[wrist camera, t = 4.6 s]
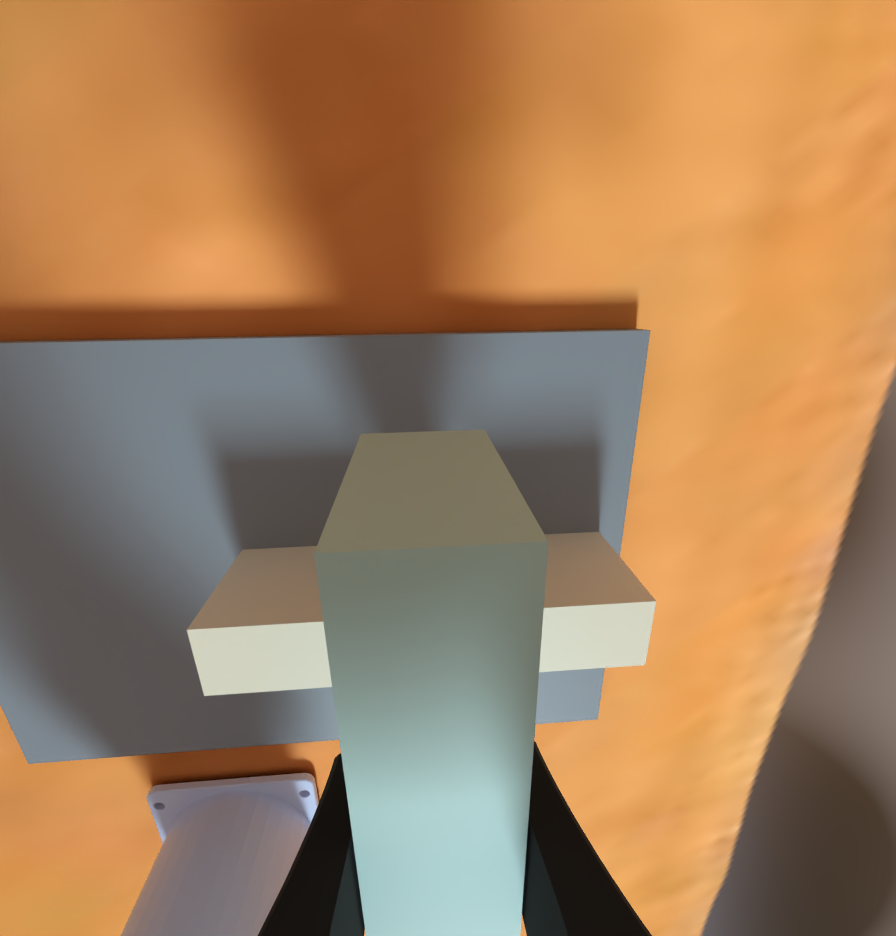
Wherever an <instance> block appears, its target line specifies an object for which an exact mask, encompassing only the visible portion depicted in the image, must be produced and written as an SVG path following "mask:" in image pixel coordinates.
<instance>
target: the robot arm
mask: <svg viewBox="0 0 896 936" xmlns="http://www.w3.org/2000/svg"><path fill="white" fill-rule="evenodd" d="M147 801H148V804H149V806H150V809H151V812H152V815H153V817H154V820H155V823H156V826H157V829H158V831H159V834H160V837H161V840H162V842H163V845H162V847H161V850H160V852H159V854H158V856H157V858H156V860H155V863H154V865H153V867H152V869H151V871H150V873H149V876H148V878H147V880H146V882H145V884H144V886H143V889H142V891H141V893H140V895H139V897H138V899H137V902H136V904H135V906H134V908H133V910H132V912H131V915H130V917H129V919H128V921H127V923H126V925H125V928H124V930H123V932H122V934H121V936H364V930H365V925H364V917H363V910H362V903H361V895H360V888H359V881H358V873H357V866H356V859H355V851H354V844H353V837H352V829H351V822H350V814H349V807H348V800H347V792H346V785H345V778H344V770H343V763H342V756H341V754H339V755H338V756H337V757H335V759H334V763H333V766H332V769H331V772H330V775H329V778H328V780H327V783H326V786H325V789H324V791H323V794H322V797H321V799H320V802H319V800H318V795H317V789H316V783H315V778H314V776H313V775H311V774H309V773H294V774H282V775H270V776H258V777H246V778H234V779H222V780H210V781H197V782H185V783H173V784H161V785H156V786H153V787H152V788H151V790H150V791H149V793H148V795H147ZM522 916H523V920H524V924H525V929H526V933H527V936H652V935H651V934H650V932H649V931H648V930H647V928H646V927H645V925H644V924H643V923H642V921H641V920H640V918H639V917H638V915H637V914H636V912H635V911H634V910H633V908H632V907H631V905H630V904H629V902H628V901H627V899H626V898H625V896H624V895H623V893H622V892H621V890H620V889H619V887H618V886H617V884H616V883H615V881H614V880H613V878H612V877H611V875H610V874H609V872H608V871H607V869H606V867H605V866H604V864H603V863H602V861H601V860H600V858H599V856H598V855H597V853H596V852H595V850H594V848H593V847H592V845H591V843H590V842H589V840H588V838H587V837H586V835H585V834H584V832H583V830H582V829H581V827H580V825H579V824H578V822H577V820H576V819H575V817H574V815H573V813H572V812H571V810H570V808H569V806H568V805H567V803H566V801H565V799H564V798H563V796H562V794H561V792H560V790H559V788H558V787H557V785H556V783H555V781H554V779H553V777H552V775H551V773H550V771H549V770H548V768H547V766H546V764H545V762H544V759H543V757H542V755H541V753H540V751H539V749H538V747H537V745H536V742H535V741H534V750H533V764H532V778H531V791H530V805H529V819H528V833H527V847H526V861H525V875H524V889H523V902H522Z"/></svg>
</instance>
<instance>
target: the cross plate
mask: <svg viewBox="0 0 896 936" xmlns="http://www.w3.org/2000/svg"><path fill="white" fill-rule="evenodd" d="M547 555H548V540H547V538H546V536H545V535H544V533H543V531H542V529H541V527H540V526H539V524H538V522H537V520H536V519H535V517H534V515H533V513H532V512H531V510H530V508H529V506H528V505H527V503H526V501H525V499H524V498H523V496H522V494H521V492H520V491H519V489H518V487H517V485H516V484H515V482H514V480H513V478H512V477H511V475H510V473H509V471H508V470H507V468H506V466H505V464H504V463H503V461H502V459H501V457H500V456H499V454H498V452H497V450H496V449H495V447H494V445H493V443H492V442H491V440H490V438H489V436H488V435H487V433H486V431H485V430H457V431H427V432H398V433H369V434H361V435H360V438H359V440H358V443H357V445H356V448H355V450H354V453H353V455H352V458H351V461H350V463H349V466H348V468H347V471H346V473H345V476H344V478H343V481H342V483H341V486H340V489H339V491H338V494H337V496H336V499H335V501H334V504H333V506H332V509H331V511H330V514H329V517H328V519H327V522H326V524H325V527H324V529H323V532H322V534H321V537H320V539H319V542H318V545H317V547H316V550H315V552H314V557H315V565H316V572H317V579H318V587H319V594H320V601H321V609H322V616H323V623H324V631H325V638H326V645H327V653H328V660H329V667H330V675H331V682H332V690H333V697H334V704H335V712H336V719H337V726H338V734H339V741H340V748H341V756H342V763H343V770H344V778H345V785H346V792H347V800H348V807H349V814H350V822H351V829H352V837H353V844H354V851H355V859H356V866H357V873H358V881H359V888H360V895H361V903H362V910H363V917H364V925H365V932H366V936H520V930H521V916H522V902H523V889H524V875H525V861H526V847H527V833H528V819H529V805H530V791H531V778H532V764H533V750H534V736H535V722H536V708H537V694H538V680H539V667H540V653H541V639H542V625H543V611H544V597H545V583H546V569H547Z"/></svg>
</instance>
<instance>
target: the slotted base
mask: <svg viewBox="0 0 896 936" xmlns="http://www.w3.org/2000/svg"><path fill="white" fill-rule="evenodd" d="M649 336H650V330H643V329H602V330H552V331H502V332H451V333H401V334H351V335H300V336H250V337H199V338H149V339H99V340H48V341H0V705H1V707H2V709H3V712H4V714H5V716H6V718H7V720H8V722H9V724H10V726H11V728H12V730H13V733H14V735H15V737H16V739H17V741H18V743H19V745H20V747H21V749H22V751H23V754H24V756H25V758H26V760H27V762H28V764H33V763H46V762H59V761H71V760H84V759H97V758H110V757H122V756H135V755H148V754H161V753H174V752H186V751H199V750H212V749H225V748H237V747H250V746H263V745H276V744H289V743H301V742H314V741H327V740H339V734H338V726H337V719H336V712H335V704H334V697H333V690H332V682H331V675H330V667H329V660H328V653H327V645H326V638H325V631H324V623H323V616H322V609H321V601H320V594H319V587H318V579H317V572H316V565H315V557H314V552H315V550H316V547H317V545H318V542H319V539H320V537H321V534H322V532H323V529H324V527H325V524H326V522H327V519H328V517H329V514H330V511H331V509H332V506H333V504H334V501H335V499H336V496H337V494H338V491H339V489H340V486H341V483H342V481H343V478H344V476H345V473H346V471H347V468H348V466H349V463H350V461H351V458H352V455H353V453H354V450H355V448H356V445H357V443H358V440H359V438H360V435H361V434H369V433H398V432H427V431H457V430H485V431H486V433H487V435H488V436H489V438H490V440H491V442H492V443H493V445H494V447H495V449H496V450H497V452H498V454H499V456H500V457H501V459H502V461H503V463H504V464H505V466H506V468H507V470H508V471H509V473H510V475H511V477H512V478H513V480H514V482H515V484H516V485H517V487H518V489H519V491H520V492H521V494H522V496H523V498H524V499H525V501H526V503H527V505H528V506H529V508H530V510H531V512H532V513H533V515H534V517H535V519H536V520H537V522H538V524H539V526H540V527H541V529H542V531H543V533H544V535H545V536H546V538H547V540H548V555H547V569H546V583H545V597H544V611H543V625H542V639H541V653H540V667H539V680H538V694H537V708H536V722H535V724H544V723H557V722H570V721H582V720H595V719H598V713H599V706H600V698H601V691H602V683H603V676H604V669H605V668H608V667H622V666H636V665H645V662H646V656H647V651H648V645H649V639H650V633H651V628H652V622H653V616H654V610H655V605H656V600H655V599H654V598H653V597H652V596H651V594H650V593H649V592H648V591H647V589H646V588H645V587H644V586H643V585H642V583H641V582H640V581H639V580H638V579H637V577H636V576H635V575H634V574H633V572H632V571H631V570H630V569H629V568H628V566H627V565H626V564H625V563H624V561H623V560H622V559H621V558H620V550H621V543H622V536H623V528H624V521H625V513H626V506H627V499H628V491H629V484H630V476H631V469H632V462H633V454H634V447H635V440H636V432H637V425H638V417H639V410H640V403H641V395H642V388H643V380H644V373H645V366H646V358H647V351H648V343H649Z"/></svg>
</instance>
